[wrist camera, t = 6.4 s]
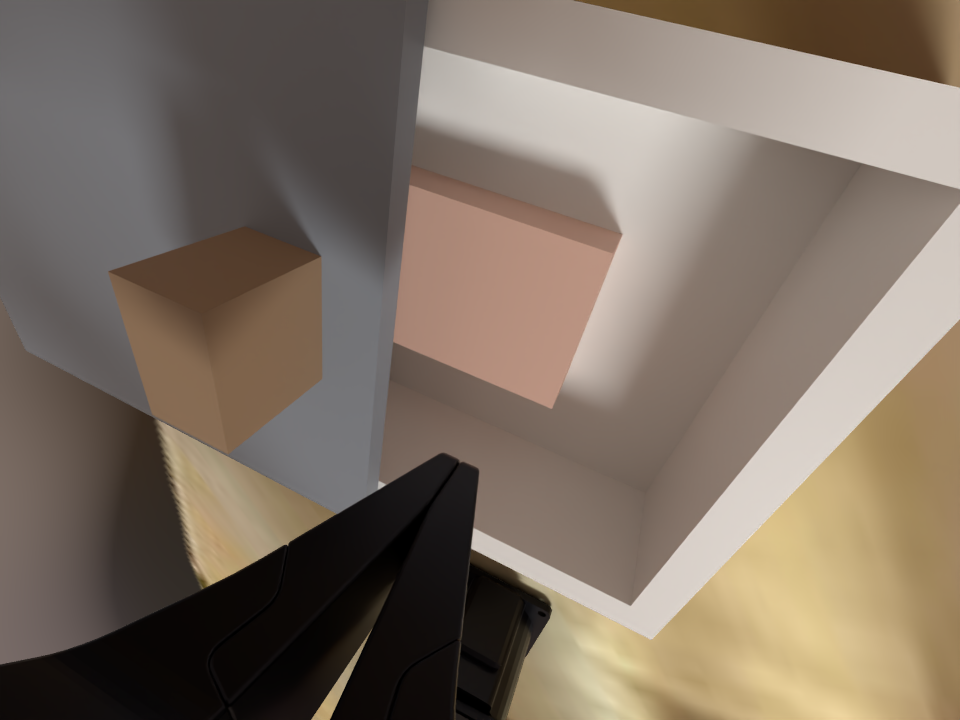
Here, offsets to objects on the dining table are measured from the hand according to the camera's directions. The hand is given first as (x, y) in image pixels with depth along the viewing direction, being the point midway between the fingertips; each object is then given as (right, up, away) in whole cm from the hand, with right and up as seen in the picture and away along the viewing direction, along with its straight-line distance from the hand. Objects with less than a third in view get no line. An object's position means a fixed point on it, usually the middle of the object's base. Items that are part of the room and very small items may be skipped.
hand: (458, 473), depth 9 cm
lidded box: (+2, +5, +8) cm, 10 cm away
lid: (-10, +6, +5) cm, 13 cm away
